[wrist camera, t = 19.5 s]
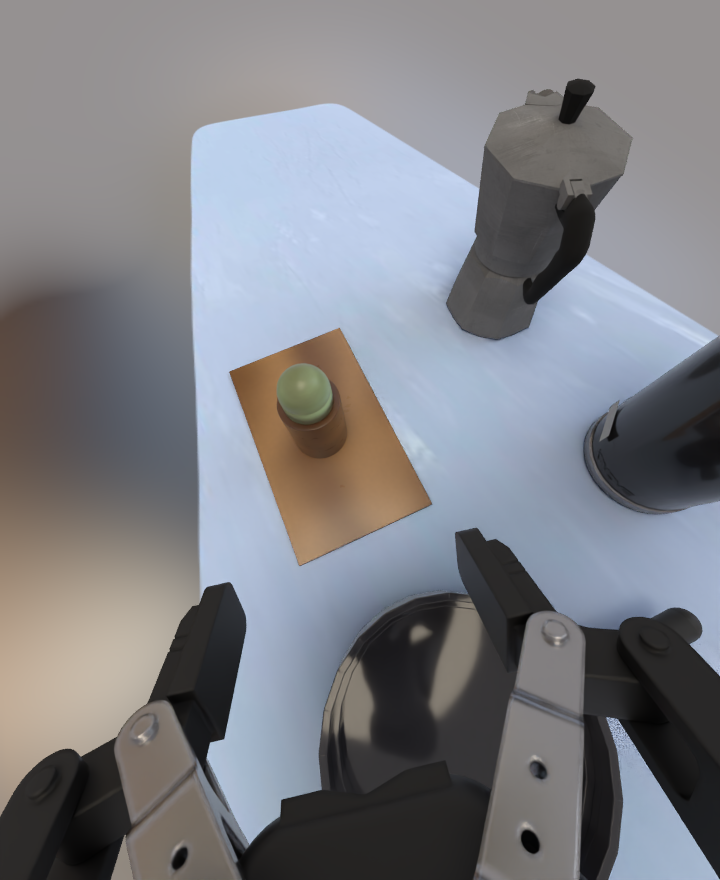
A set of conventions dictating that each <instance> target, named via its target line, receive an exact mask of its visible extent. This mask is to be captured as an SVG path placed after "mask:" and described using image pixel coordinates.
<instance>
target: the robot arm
mask: <svg viewBox="0 0 720 880" xmlns="http://www.w3.org/2000/svg"><path fill="white" fill-rule="evenodd" d="M618 404H619V401H617V402H616V403H615V404H613V405H612V406H611V407H610V408H609V412H607V413H606V414H604V415H603V416H601V417H600V418H599V419H597V420H596V421H595V422H594V423H593V424H592V426H591V427H590V429H589V430H588V432H587V435H586V438H585V443H584V455H585V460H586V464H587V467H588V469H589V471H590V473H591V475H592V477H593V478H594V480H595V481H596V483H597V484H598V485H599V486H600V488H601V489H602V490H603V491H604V492H605V493H606V494H607V495H609V496H610V497H611V498H612V499H614V500H615V501H617V502H618V503H620V504H622V505H624V506H626V507H628V508H630V509H633V510H635V511H639V512H642V513H647V514H667V513H672V512H677V511H681V510H684V509H687V508H689V507H693V506H698V505H702V504H708V503H713V502H718V501H720V335H719V336H718V337H717V338H715V339H714V340H712V341H711V342H709V343H708V344H707V345H705V346H704V347H702V348H701V349H699V350H698V351H697V352H695V353H694V354H692V355H691V356H689V357H688V358H687V359H685V360H684V361H682V362H681V363H679V364H678V365H677V366H675V367H674V368H672V369H671V370H669V371H668V372H667V373H665V374H664V375H662V376H661V377H659V378H658V379H657V380H655V381H654V382H652V383H651V384H649V385H648V386H647V387H645V388H644V389H642V390H641V391H639V392H638V393H637V394H635V395H634V396H632V397H631V398H629V399H628V400H626V401H625V402H623V403H622V404H621V405H619V406H618ZM455 539H456V550H457V562H458V569H459V573H460V576H461V579H462V581H463V584H464V586H465V588H466V590H467V592H468V594H469V596H470V598H471V600H472V602H473V604H474V606H475V608H476V610H477V612H478V614H479V616H480V618H481V620H482V622H483V624H484V626H485V628H486V630H487V632H488V634H489V636H490V638H491V640H492V642H493V644H494V646H495V648H496V650H497V652H498V654H499V656H500V658H501V660H502V662H503V665H504V667H505V669H506V671H507V673H512V672H516V671H517V676H516V681H515V686H514V690H513V691H512V692H511V694H510V698H509V702H508V707H507V713H506V718H505V723H504V728H503V733H502V738H501V743H500V749H499V754H498V759H497V764H496V769H495V774H494V779H493V785H492V789H490V788H488V787H487V786H485V785H483V784H482V783H480V782H478V781H476V780H473V779H471V778H468V777H465V776H461V775H456V774H449V771H448V767H447V763H446V760H443V761H439V762H435V763H431V764H427V765H423V766H418V767H414V768H410V769H406V770H404V771H403V772H401V773H399V774H398V775H396V776H395V777H393V778H391V779H390V780H388V781H387V782H385V783H383V784H382V785H380V786H379V787H377V788H375V789H374V790H372V791H371V792H369V793H366V794H355V793H346V792H337V791H328V790H320V791H316V792H311V793H307V794H303V795H299V796H295V797H291V798H287V799H283V800H281V814H280V817H279V818H277V819H275V820H274V821H273V822H272V823H270V824H269V825H268V826H267V827H266V828H265V829H264V830H263V831H262V832H261V833H260V834H259V835H258V836H257V837H256V838H255V839H254V840H253V841H252V843H251V844H250V845H249V843H248V841H247V839H246V837H245V836H244V834H243V832H242V830H241V829H240V827H239V825H238V823H237V821H236V819H235V817H234V815H233V813H232V811H231V808H230V806H229V804H228V802H227V800H226V798H225V795H224V793H223V791H222V789H221V787H220V785H219V782H218V780H217V778H216V776H215V774H214V772H213V769H212V767H211V765H210V763H209V761H208V759H207V758H206V757H207V753H208V749H209V744H210V742H214V741H218V740H223V739H224V738H225V733H226V728H227V723H228V718H229V713H230V708H231V703H232V698H233V693H234V688H235V683H236V678H237V673H238V668H239V663H240V659H241V654H242V649H243V644H244V639H245V634H246V616H245V613H244V610H243V608H242V606H241V603H240V601H239V599H238V597H237V595H236V592H235V590H234V588H233V586H232V584H231V583H230V582H227V583H223V584H218V585H214V586H209V587H207V588H206V589H205V590H204V593H203V596H202V598H201V601H200V604H199V605H197V606H192V608H191V609H190V610H189V611H188V613H187V614H186V615H185V616H184V618H183V619H182V620H181V622H180V624H179V627H178V629H177V632H176V634H175V639H173V642H172V644H171V647H170V652H168V654H167V656H166V659H165V662H164V664H163V666H162V669H161V671H160V674H159V676H158V679H157V681H156V684H155V686H154V689H153V691H152V694H151V696H150V699H149V701H148V703H147V704H146V705H144V706H143V707H141V708H140V709H139V710H137V711H136V712H135V713H134V714H133V715H132V716H131V717H130V718H129V719H128V720H127V721H126V723H125V724H124V726H123V727H122V728H121V730H120V732H119V734H118V736H117V737H116V738H114V739H112V740H111V741H109V742H107V743H105V744H103V745H101V746H100V747H98V748H96V749H95V750H92V751H91V752H89V753H87V754H85V755H83V756H82V757H80V756H79V754H78V753H77V752H76V751H74V750H72V749H63V750H59V751H57V752H55V753H53V754H51V755H49V756H48V757H46V758H45V759H43V760H42V761H41V762H39V763H38V764H37V765H36V766H35V767H34V768H33V769H32V770H31V771H30V772H29V773H28V774H27V775H26V776H25V777H24V779H23V780H22V781H21V782H20V784H19V785H18V787H17V788H16V790H15V791H14V793H13V795H12V796H11V798H10V800H9V802H8V804H7V806H6V807H5V809H4V811H3V813H2V815H1V817H0V880H111V876H112V873H113V870H114V867H115V863H116V860H117V857H118V854H119V851H120V847H121V844H122V841H123V837H124V835H126V845H127V851H128V855H129V860H130V865H131V869H132V873H133V878H134V880H587V879H586V878H585V877H584V876H583V875H582V874H581V873H580V844H581V813H582V783H583V752H584V720H583V714H588V715H595V716H603V717H610V718H617V719H618V720H619V721H620V723H621V725H622V726H623V728H624V729H625V731H626V732H627V734H628V736H629V737H630V739H631V740H632V742H633V743H634V745H635V747H636V748H637V750H638V751H639V753H640V754H641V756H642V758H643V759H644V761H645V762H646V764H647V765H648V767H649V769H650V770H651V772H652V773H653V775H654V776H655V778H656V780H657V781H658V783H659V784H660V786H661V788H662V789H663V791H664V792H665V794H666V795H667V797H668V799H669V800H670V802H671V803H672V805H673V806H674V808H675V810H676V811H677V813H678V814H679V816H680V817H681V819H682V821H683V822H684V824H685V825H686V827H687V828H688V830H689V832H690V833H691V835H692V836H693V838H694V839H695V841H696V843H697V844H698V846H699V847H700V849H701V850H702V852H703V854H704V855H705V857H706V858H707V860H708V861H709V863H710V865H711V866H712V868H713V869H714V871H715V872H716V874H717V876H718V877H719V879H720V676H719V675H718V674H717V673H716V672H715V671H714V670H713V669H712V668H711V667H710V665H709V664H708V663H707V662H706V661H705V660H704V659H703V658H702V657H701V656H700V655H699V654H698V653H697V652H696V651H695V650H694V649H693V648H692V647H691V646H690V645H689V644H688V643H687V642H686V641H685V640H684V638H683V637H682V636H681V635H679V634H678V633H677V632H676V631H675V630H673V629H672V628H670V627H669V626H667V625H665V624H663V623H661V622H659V621H656V620H653V619H650V618H645V617H632V618H628V619H626V620H625V621H623V622H622V624H621V625H620V628H619V630H610V629H597V628H588V627H583V626H580V625H577V624H576V623H575V622H574V621H573V620H572V619H570V618H569V617H567V616H565V615H563V614H561V613H558V612H557V611H556V610H555V609H554V608H553V607H552V605H551V604H550V603H549V601H548V600H547V599H546V597H545V596H544V594H543V593H542V592H541V590H540V589H539V588H538V586H537V585H536V584H535V582H534V581H533V580H532V578H531V577H530V575H529V574H528V573H527V572H526V571H525V569H524V567H523V566H522V565H521V563H520V562H518V559H517V558H516V556H515V555H514V554H513V552H512V551H511V550H510V548H509V547H507V546H506V545H504V544H503V543H501V542H500V541H498V540H497V539H494V540H489V541H486V540H485V538H484V537H483V535H482V534H481V532H480V531H479V529H478V528H472V529H468V530H463V531H459V532H456V533H455Z"/></svg>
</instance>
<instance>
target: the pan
mask: <svg viewBox="0 0 720 880" xmlns="http://www.w3.org/2000/svg"><path fill="white" fill-rule="evenodd" d="M516 676H517V671H516V672H512V673H507V671H506V669H505V667H504V665H503V662H502V660H501V658H500V656H499V654H498V652H497V650H496V648H495V646H494V644H493V642H492V640H491V638H490V636H489V634H488V632H487V630H486V628H485V626H484V624H483V622H482V620H481V618H480V616H479V614H478V612H477V610H476V608H475V606H474V604H473V602H472V600H471V598H470V596H469V594H468V593H461V592H452V591H443V590H437V591H432V592H426V593H420V594H414V595H411V596H408V597H406V598H404V599H402V600H400V601H398V602H396V603H394V604H392V605H390V606H388V607H386V608H384V609H383V610H382V611H381V612H379V613H378V614H377V615H376V616H375V617H374V618H373V619H372V620H371V621H370V622H368V623H367V624H366V625H365V626H364V627H363V628H362V629H361V630H360V631H359V633H358V635H357V636H356V638H355V639H354V641H353V642H352V644H351V645H350V647H349V649H348V650H347V652H346V653H345V655H344V656H343V658H342V661H341V663H340V665H339V668H338V670H337V673H336V676H335V679H334V681H333V684H332V687H331V690H330V693H329V696H328V699H327V702H326V705H325V707H324V712H323V721H322V730H321V738H320V747H319V765H320V775H321V786H322V790H328V791H337V792H346V793H355V794H366V793H369V792H371V791H372V790H374V789H375V788H377V787H379V786H380V785H382V784H383V783H385V782H387V781H388V780H390V779H391V778H393V777H395V776H396V775H398V774H399V773H401V772H403V771H404V770H406V769H410V768H414V767H418V766H423V765H427V764H431V763H435V762H439V761H443V760H446V763H447V767H448V771H449V774H456V775H461V776H465V777H468V778H471V779H473V780H476V781H478V782H480V783H482V784H483V785H485V786H487V787H488V788H490V789H492V785H493V779H494V774H495V769H496V764H497V759H498V754H499V749H500V743H501V738H502V733H503V728H504V723H505V718H506V713H507V707H508V702H509V698H510V694H511V692H512V691H513V690H514V686H515V681H516ZM583 720H584V752H583V783H582V813H581V844H580V873H581V874H582V875H583V876H584V877H585V878H586V879H587V880H608V878H609V876H610V873H611V870H612V868H613V865H614V862H615V859H616V857H617V854H618V852H617V851H618V848H619V838H620V828H621V818H622V809H623V795H622V787H621V779H620V771H619V762H618V754H617V749H616V746H615V743H614V740H613V737H612V734H611V731H610V728H609V725H608V722H607V719H606V717H603V716H595V715H588V714H583Z"/></svg>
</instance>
